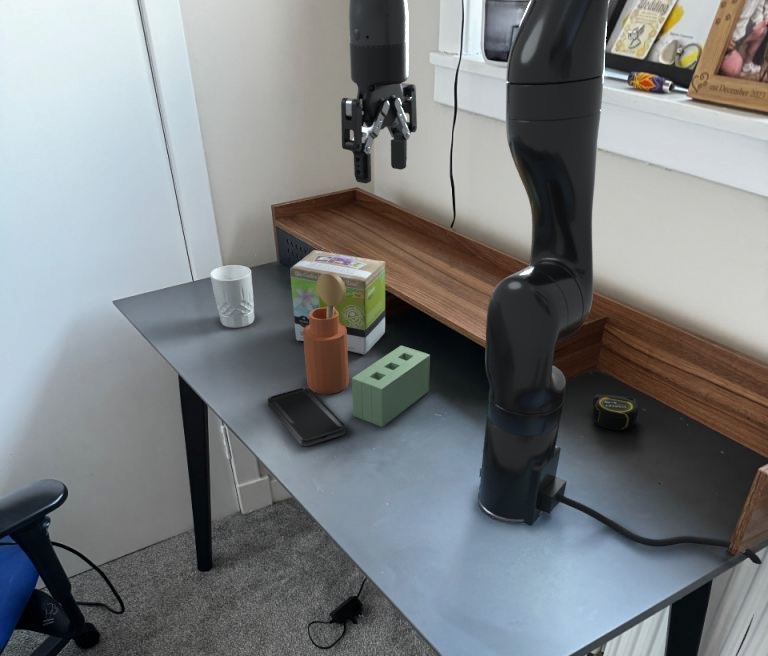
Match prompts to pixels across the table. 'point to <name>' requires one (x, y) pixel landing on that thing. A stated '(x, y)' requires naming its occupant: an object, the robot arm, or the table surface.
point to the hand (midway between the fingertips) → (381, 175)
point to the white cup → (233, 295)
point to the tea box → (361, 301)
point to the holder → (390, 385)
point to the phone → (306, 416)
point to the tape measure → (615, 411)
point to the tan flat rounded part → (331, 291)
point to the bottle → (326, 352)
